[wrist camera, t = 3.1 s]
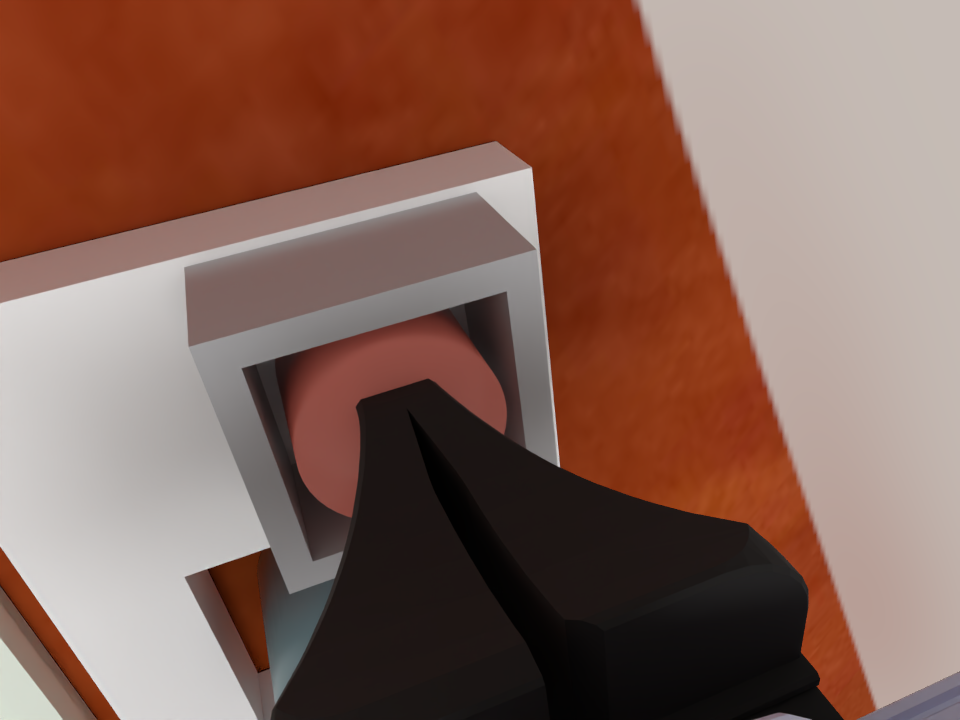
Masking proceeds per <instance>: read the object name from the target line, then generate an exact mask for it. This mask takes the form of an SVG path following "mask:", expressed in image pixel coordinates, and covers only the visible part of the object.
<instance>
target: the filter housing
mask: <svg viewBox="0 0 960 720" xmlns="http://www.w3.org/2000/svg"><path fill="white" fill-rule="evenodd" d="M448 308H449V309H450V311H451V312H452V314H453V315H454V317H455V318H456V319H457V321H458V322H459V324H460V325H461V327H462V328H463V330H464V331H465V332H466V334H467V335H468V337H469V338H470V340H471V341H472V343H473V344H474V346H475V347H476V348H477V350H478V351H479V353H480V354H481V356H482V357H483V359H484V360H485V361H486V363H487V364H488V366H489V367H490V369H491V370H492V372H493V373H494V375H495V376H496V378H497V380H498V381H499V383H500V385H501V388H502V390H503V393H504V396H505V401H506V408H507V420H506V428H505V433H504V435H505V436H506V437H508V438H510V439H511V440H513V441H514V442H516V443H517V444H519V445H521V446H522V447H524V448H526V449H527V450H529V451H531V452H532V453H534V454H536V455H538V456H539V457H541V458H543V459H545V460H547V461H548V462H550V463H552V464H554V465H556V466H558V467H560V461H559V451H558V440H557V430H556V419H555V408H554V398H553V387H552V376H551V366H550V355H549V345H548V334H547V323H546V313H545V302H544V291H543V281H542V270H541V259H540V249H539V238H538V228H537V217H536V206H535V196H534V185H533V174H532V167H531V166H529V165H528V164H526V163H525V162H524V161H522V160H521V159H520V158H518V157H517V156H516V155H514V154H513V153H512V152H510V151H509V150H508V149H506V148H505V147H503V146H502V145H501V144H499V143H498V142H497V141H495V142H490V143H486V144H482V145H478V146H474V147H470V148H466V149H462V150H458V151H454V152H450V153H446V154H441V155H437V156H433V157H429V158H425V159H421V160H417V161H413V162H409V163H405V164H401V165H396V166H392V167H388V168H384V169H380V170H376V171H372V172H368V173H364V174H360V175H356V176H352V177H347V178H343V179H339V180H335V181H331V182H327V183H323V184H319V185H315V186H311V187H307V188H303V189H298V190H294V191H290V192H286V193H282V194H278V195H274V196H270V197H266V198H262V199H258V200H254V201H249V202H245V203H241V204H237V205H233V206H229V207H225V208H221V209H217V210H213V211H209V212H204V213H200V214H196V215H192V216H188V217H184V218H180V219H176V220H172V221H168V222H164V223H160V224H155V225H151V226H147V227H143V228H139V229H135V230H131V231H127V232H123V233H119V234H115V235H111V236H106V237H102V238H98V239H94V240H90V241H86V242H82V243H78V244H74V245H70V246H66V247H61V248H57V249H53V250H49V251H45V252H41V253H37V254H33V255H29V256H25V257H21V258H17V259H12V260H8V261H4V262H0V547H1V548H2V550H3V551H4V552H5V554H6V555H7V557H8V558H9V560H10V561H11V563H12V564H13V565H14V567H15V568H16V570H17V571H18V573H19V574H20V576H21V577H22V578H23V580H24V581H25V583H26V584H27V586H28V587H29V588H30V590H31V591H32V593H33V594H34V596H35V597H36V599H37V600H38V601H39V603H40V604H41V606H42V607H43V609H44V610H45V611H46V613H47V614H48V616H49V617H50V619H51V620H52V622H53V623H54V624H55V626H56V627H57V629H58V630H59V632H60V633H61V635H62V636H63V637H64V639H65V640H66V642H67V643H68V645H69V646H70V647H71V649H72V650H73V652H74V653H75V655H76V656H77V658H78V659H79V660H80V662H81V663H82V665H83V666H84V668H85V669H86V670H87V672H88V673H89V675H90V676H91V678H92V679H93V681H94V682H95V683H96V685H97V686H98V688H99V689H100V691H101V692H102V694H103V695H104V696H105V698H106V699H107V701H108V702H109V704H110V705H111V706H112V708H113V709H114V711H115V712H116V714H117V715H118V717H119V718H120V719H121V720H270V719H271V713H272V709H273V707H274V706H275V701H274V694H273V687H272V679H271V672H270V669H268V670H265V671H263V672H260V673H258V672H257V670H256V668H255V666H254V664H253V662H252V660H251V658H250V656H249V654H248V652H247V650H246V648H245V646H244V644H243V642H242V639H241V637H240V635H239V633H238V631H237V629H236V627H235V625H234V623H233V621H232V619H231V617H230V615H229V613H228V611H227V609H226V607H225V605H224V603H223V600H222V598H221V596H220V594H219V592H218V590H217V588H216V586H215V584H214V582H213V580H212V578H211V576H210V574H209V572H208V570H207V569H209V568H212V567H215V566H218V565H221V564H223V563H226V562H229V561H232V560H235V559H238V558H241V557H244V556H247V555H250V554H253V553H255V552H258V551H261V550H264V549H267V548H270V547H271V550H272V552H273V555H274V557H275V560H276V562H277V565H278V567H279V569H280V572H281V574H282V577H283V579H284V582H285V584H286V587H287V589H288V591H289V594H292V593H295V592H297V591H300V590H303V589H306V588H309V587H311V586H314V585H317V584H320V583H323V582H325V581H328V580H331V579H334V578H335V577H336V574H337V571H338V568H339V565H340V562H341V558H342V555H343V551H344V547H345V544H346V540H347V536H348V532H349V528H350V523H351V519H352V518H351V517H347V516H345V515H342V514H340V513H337V512H335V511H333V510H332V509H330V508H328V507H326V506H325V505H324V504H323V503H321V502H320V501H319V500H317V499H316V498H315V496H314V495H313V494H312V493H311V492H310V491H309V490H308V488H307V487H306V485H305V484H304V482H303V480H302V478H301V476H300V473H299V471H298V467H297V463H296V459H295V455H294V451H293V446H292V442H291V438H290V433H289V429H288V425H287V421H286V416H285V412H284V408H283V403H282V399H281V395H280V391H279V386H278V382H277V378H276V370H275V358H279V357H282V356H286V355H289V354H293V353H296V352H300V351H303V350H306V349H310V348H313V347H317V346H320V345H324V344H327V343H331V342H334V341H337V340H341V339H344V338H348V337H351V336H355V335H358V334H362V333H365V332H368V331H372V330H375V329H379V328H382V327H386V326H389V325H392V324H396V323H399V322H403V321H406V320H410V319H413V318H417V317H420V316H423V315H427V314H430V313H434V312H437V311H441V310H444V309H448Z"/></svg>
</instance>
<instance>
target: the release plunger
mask: <svg viewBox="0 0 960 720" xmlns="http://www.w3.org/2000/svg"><path fill="white" fill-rule="evenodd" d="M275 370H276V378H277V382H278V386H279V391H280V395H281V399H282V403H283V408H284V412H285V416H286V421H287V425H288V429H289V433H290V438H291V442H292V446H293V451H294V455H295V459H296V463H297V467H298V471H299V473H300V476H301V478H302V480H303V482H304V484H305V485H306V487H307V488H308V490H309V491H310V492H311V493H312V494H313V495H314V496H315V498H316V499H317V500H319V501H320V502H321V503H323V504H324V505H325V506H326V507H328V508H330V509H332V510H333V511H335V512H337V513H340V514H342V515H345V516H347V517H351V518H352V514H353V507H354V501H355V495H356V489H357V482H358V473H359V459H360V425H359V418H358V414H357V410H356V405H357V404H358V402H359V401H360V399H364V398H367V397H370V396H373V395H376V394H380V393H383V392H386V391H389V390H393V389H396V388H399V387H402V386H406V385H409V384H412V383H415V382H418V381H421V380H425V379H428V378H429V379H430V380H432V381H434V382H436V383H437V384H438V385H439V386H440V387H441V388H442V389H444V390H445V391H446V392H447V393H448V394H449V395H451V396H452V397H453V398H454V399H456V400H457V401H458V402H459V403H460V404H462V405H463V406H464V407H466V408H467V409H468V410H470V411H471V412H472V413H473V414H475V415H476V416H478V417H479V418H480V419H482V420H483V421H484V422H486V423H487V424H489V425H490V426H492V427H493V428H495V429H496V430H498V431H499V432H500V433H502V434H503V435H504V433H505V428H506V420H507V408H506V401H505V396H504V393H503V390H502V388H501V385H500V383H499V381H498V380H497V378H496V376H495V375H494V373H493V372H492V370H491V369H490V367H489V366H488V364H487V363H486V361H485V360H484V359H483V357H482V356H481V354H480V353H479V351H478V350H477V348H476V347H475V346H474V344H473V343H472V341H471V340H470V338H469V337H468V335H467V334H466V332H465V331H464V330H463V328H462V327H461V325H460V324H459V322H458V321H457V319H456V318H455V317H454V315H453V314H452V312H451V311H450V309H449V308H448V309H444V310H441V311H437V312H434V313H430V314H427V315H423V316H420V317H417V318H413V319H410V320H406V321H403V322H399V323H396V324H392V325H389V326H386V327H382V328H379V329H375V330H372V331H368V332H365V333H362V334H358V335H355V336H351V337H348V338H344V339H341V340H337V341H334V342H331V343H327V344H324V345H320V346H317V347H313V348H310V349H306V350H303V351H300V352H296V353H293V354H289V355H286V356H282V357H279V358H275Z"/></svg>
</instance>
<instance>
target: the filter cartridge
mask: <svg viewBox="0 0 960 720" xmlns="http://www.w3.org/2000/svg"><path fill="white" fill-rule="evenodd" d="M257 577H258V585H259V592H260V599H261V607H262V614H263V621H264V628H265V636H266V643H267V650H268V657H269V665H270V672H271V679H272V687H273V694H274V701H275V704H276V702H277V701H278V699H279V697H280V695H281V693H282V692H283V690H284V688H285V686H286V685H287V683H288V681H289V679H290V677H291V676H292V674H293V672H294V670H295V668H296V667H297V665H298V663H299V661H300V659H301V657H302V655H303V653H304V651H305V649H306V647H307V645H308V643H309V640H310V638H311V636H312V634H313V632H314V629H315V627H316V625H317V623H318V620H319V618H320V616H321V614H322V612H323V609H324V607H325V604H326V602H327V599H328V597H329V594H330V591H331V589H332V586H333V583H334V580H335V578H334V579H331V580H328V581H325V582H323V583H320V584H317V585H314V586H311V587H309V588H306V589H303V590H300V591H297V592H295V593H292V594H289V591H288V589H287V587H286V584H285V582H284V579H283V577H282V574H281V572H280V569H279V567H278V565H277V562H276V560H275V557H274V555H273V552H272V550H271V547H270V548H267V549H264V550H262V553H261V555H260V557H259V562H258V566H257Z"/></svg>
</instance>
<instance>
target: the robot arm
mask: <svg viewBox="0 0 960 720" xmlns="http://www.w3.org/2000/svg"><path fill="white" fill-rule="evenodd" d="M356 410H357V414H358V418H359V425H360V459H359V473H358V482H357V489H356V495H355V501H354V507H353V514H352V519H351V523H350V528H349V532H348V536H347V540H346V544H345V547H344V551H343V555H342V558H341V562H340V565H339V568H338V571H337V574H336V577H335V580H334V583H333V586H332V589H331V591H330V594H329V597H328V599H327V602H326V604H325V607H324V609H323V612H322V614H321V616H320V618H319V620H318V623H317V625H316V627H315V629H314V632H313V634H312V636H311V638H310V640H309V643H308V645H307V647H306V649H305V651H304V653H303V655H302V657H301V659H300V661H299V663H298V665H297V667H296V668H295V670H294V672H293V674H292V676H291V677H290V679H289V681H288V683H287V685H286V686H285V688H284V690H283V692H282V693H281V695H280V697H279V699H278V701H277V702H276V704H275V706H274V707H273V709H272V713H271V719H270V720H844V719H843V718H842V717H841V716H840V715H839V713H838V712H837V711H836V710H835V708H834V707H833V706H832V705H831V704H830V702H829V701H828V700H827V699H826V698H825V696H824V695H823V694H822V693H821V691H820V690H819V689H818V688H817V687H816V686H817V685H819V681H820V678H819V675H818V673H817V671H816V670H815V669H814V667H813V666H812V665H811V664H810V663H809V661H808V660H807V659H806V658H805V657H804V656H803V654H802V653H801V646H802V641H803V635H804V629H805V623H806V618H807V612H808V588H807V586H806V584H805V581H804V579H803V577H802V576H801V575H800V574H799V573H798V572H797V571H796V569H795V568H794V567H793V566H792V565H791V564H790V563H789V562H788V561H787V560H786V559H785V558H784V557H783V556H782V555H781V554H780V553H779V552H778V551H777V550H776V549H775V548H774V547H773V546H772V545H771V544H770V543H769V542H768V541H767V540H765V539H764V538H763V537H762V536H761V535H759V534H758V533H757V532H756V531H755V530H754V529H753V528H752V527H750V526H749V525H748V524H746V523H741V522H736V521H730V520H725V519H720V518H715V517H710V516H704V515H699V514H694V513H689V512H685V511H681V510H677V509H673V508H670V507H666V506H662V505H658V504H655V503H651V502H648V501H645V500H641V499H638V498H635V497H632V496H629V495H626V494H623V493H620V492H618V491H615V490H612V489H609V488H607V487H604V486H601V485H598V484H596V483H593V482H591V481H589V480H586V479H584V478H581V477H579V476H577V475H575V474H573V473H571V472H568V471H566V470H564V469H562V468H560V467H558V466H556V465H554V464H552V463H550V462H548V461H547V460H545V459H543V458H541V457H539V456H538V455H536V454H534V453H532V452H531V451H529V450H527V449H526V448H524V447H522V446H521V445H519V444H517V443H516V442H514V441H513V440H511V439H510V438H508V437H506V436H505V435H503V434H502V433H500V432H499V431H498V430H496V429H495V428H493V427H492V426H490V425H489V424H487V423H486V422H484V421H483V420H482V419H480V418H479V417H478V416H476V415H475V414H473V413H472V412H471V411H470V410H468V409H467V408H466V407H464V406H463V405H462V404H460V403H459V402H458V401H457V400H456V399H454V398H453V397H452V396H451V395H449V394H448V393H447V392H446V391H445V390H444V389H442V388H441V387H440V386H439V385H438V384H437V383H436V382H434V381H432V380H430V379H429V378H428V379H425V380H421V381H418V382H415V383H412V384H409V385H406V386H402V387H399V388H396V389H393V390H389V391H386V392H383V393H380V394H376V395H373V396H370V397H367V398H364V399H360V401H359V402H358V404H357V405H356ZM857 720H960V672H957V673H955V674H953V675H951V676H949V677H947V678H945V679H943V680H940V681H939V682H936V683H934V684H932V685H930V686H927V687H925V688H924V689H921V690H919V691H917V692H915V693H912V694H910V695H908V696H906V697H904V698H902V699H900V700H898V701H895V702H893V703H891V704H889V705H887V706H885V707H883V708H880V709H878V710H876V711H874V712H872V713H870V714H868V715H865V716H863V717H861V718H859V719H857Z"/></svg>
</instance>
